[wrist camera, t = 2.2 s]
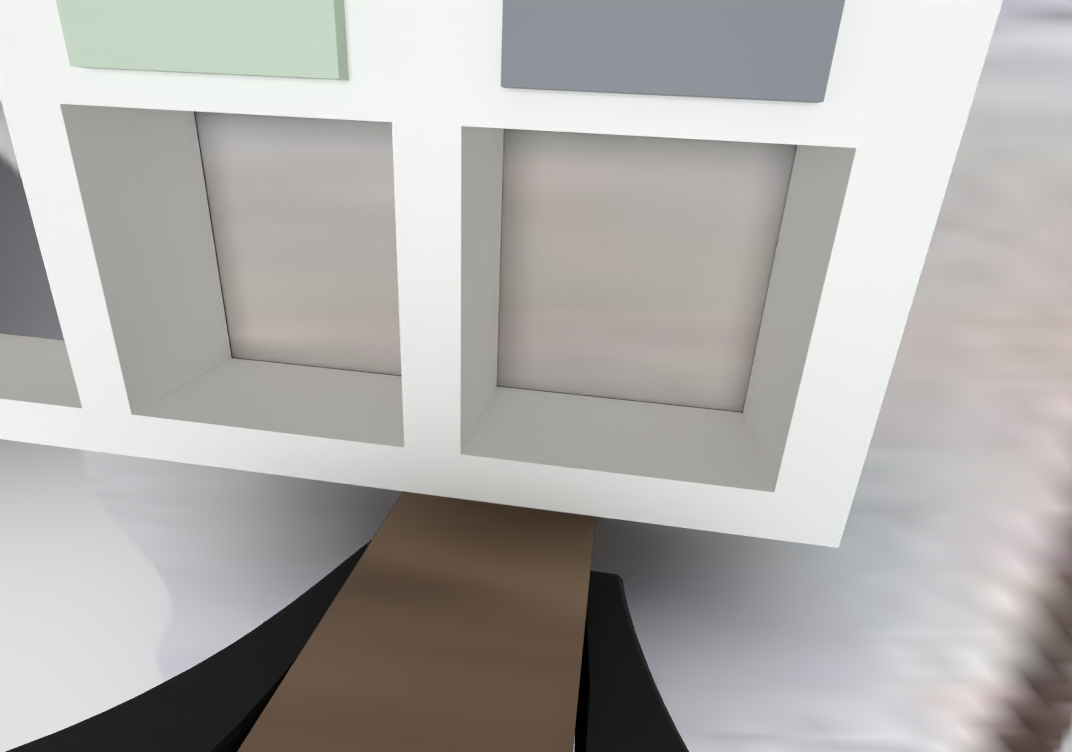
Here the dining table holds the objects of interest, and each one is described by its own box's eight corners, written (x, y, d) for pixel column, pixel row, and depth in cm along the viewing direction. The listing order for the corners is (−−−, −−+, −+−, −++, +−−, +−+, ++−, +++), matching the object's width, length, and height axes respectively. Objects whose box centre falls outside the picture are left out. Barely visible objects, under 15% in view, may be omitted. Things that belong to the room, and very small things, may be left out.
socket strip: (793, 457, 13) (844, 559, 10) (-40, 362, 15) (-209, 420, 12) (920, -55, 9) (1061, -147, 6) (-186, -74, 12) (-478, -148, 8)
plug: (584, 611, 15) (539, 1069, 8) (430, 588, 15) (249, 998, 8) (599, 474, 13) (560, 882, 6) (427, 453, 14) (201, 808, 7)
